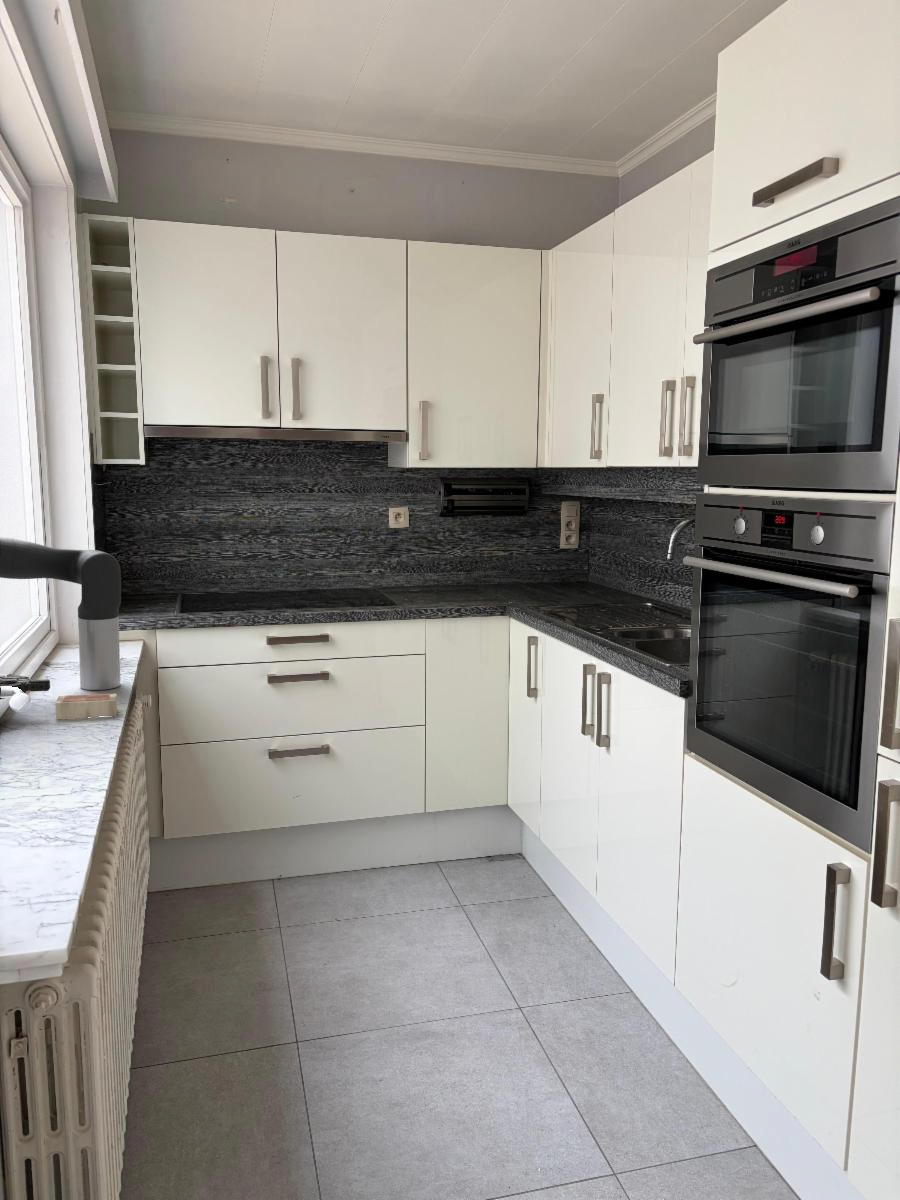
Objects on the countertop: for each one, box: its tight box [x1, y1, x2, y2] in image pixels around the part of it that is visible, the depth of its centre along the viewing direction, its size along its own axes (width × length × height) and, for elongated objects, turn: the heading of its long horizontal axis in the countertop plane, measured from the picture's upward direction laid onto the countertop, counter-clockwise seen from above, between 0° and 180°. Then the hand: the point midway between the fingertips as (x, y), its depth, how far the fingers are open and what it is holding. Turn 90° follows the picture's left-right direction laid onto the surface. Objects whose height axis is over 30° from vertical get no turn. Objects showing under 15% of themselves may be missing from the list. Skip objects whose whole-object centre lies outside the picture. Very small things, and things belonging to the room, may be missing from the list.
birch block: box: [54, 693, 118, 720], centre depth 201 cm, size 6×4×12 cm
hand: (49, 685), depth 198 cm, fingers closed
